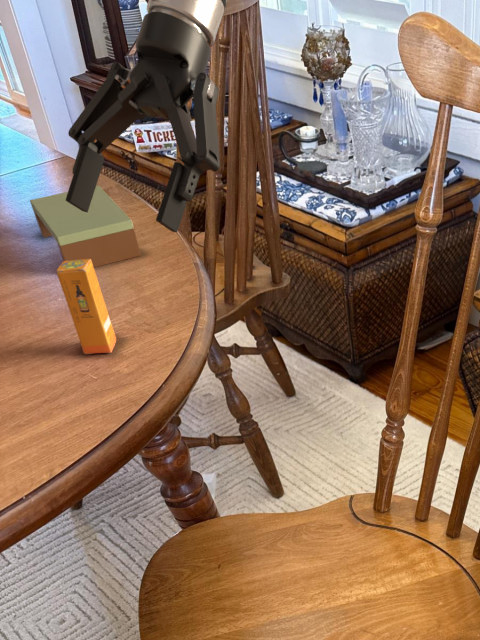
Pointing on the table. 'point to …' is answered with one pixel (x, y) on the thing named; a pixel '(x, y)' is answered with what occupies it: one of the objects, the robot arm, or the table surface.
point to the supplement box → (87, 306)
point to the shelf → (87, 228)
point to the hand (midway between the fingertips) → (120, 216)
